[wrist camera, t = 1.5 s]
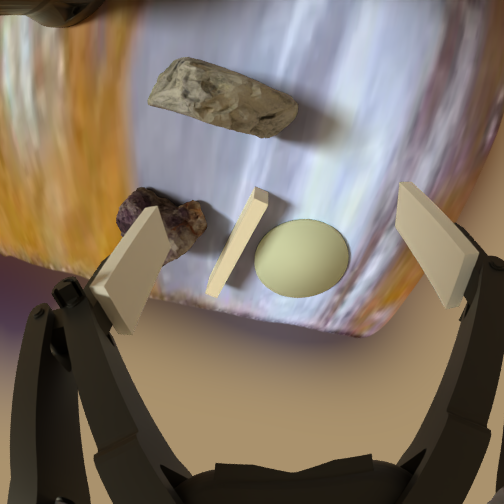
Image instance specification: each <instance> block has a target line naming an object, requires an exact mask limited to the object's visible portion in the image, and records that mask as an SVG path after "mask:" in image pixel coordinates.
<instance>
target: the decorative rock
mask: <svg viewBox="0 0 504 504" xmlns="http://www.w3.org/2000/svg"><path fill="white" fill-rule="evenodd" d="M148 105H150V106H154V107H158V108H163V109H166V110H171V111H174V112H177V113H180V114H183V115H187V116H190V117H193V118H196V119H198V120H201V121H203V122H206V123H209V124H212V125H215V126H219V127H224V128H226V129H229V130H235V131H237V132H242V133H246V134H251V135H256V136H258V137H259V138H264V137H265V138H270V137H272V136H275V135H277V134H278V133H279V132H281V131H282V130H283V129H284V128H285V127H287V126H288V125H289V124H290V123H291V122H292V121H293V120H294V119H295V117H296V115H297V112H298V104H297V102H295V101H294V99H293V98H292V97H291V96H290V95H288V94H286V93H283V92H280V91H278V90H275V89H273V88H270V87H268V86H266V85H265V84H262V83H260V82H258V81H256V80H254V79H251V78H248V77H246V76H244V75H242V74H239V73H237V72H234V71H231V70H228V69H226V68H223V67H220V66H217V65H215V64H211V63H208V62H205V61H202V60H198V59H194V58H190V57H183V58H180V59H177V60H175V61H173V62H172V64H171V65H170V66H169V67H168V68H167V69H166V70H165V71H164V72H163V73H161V74H160V75H159V77H158V79H157V83H156V84H155V85H154V88H153V89H152V92H151V94H150V96H149V98H148Z"/></svg>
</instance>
